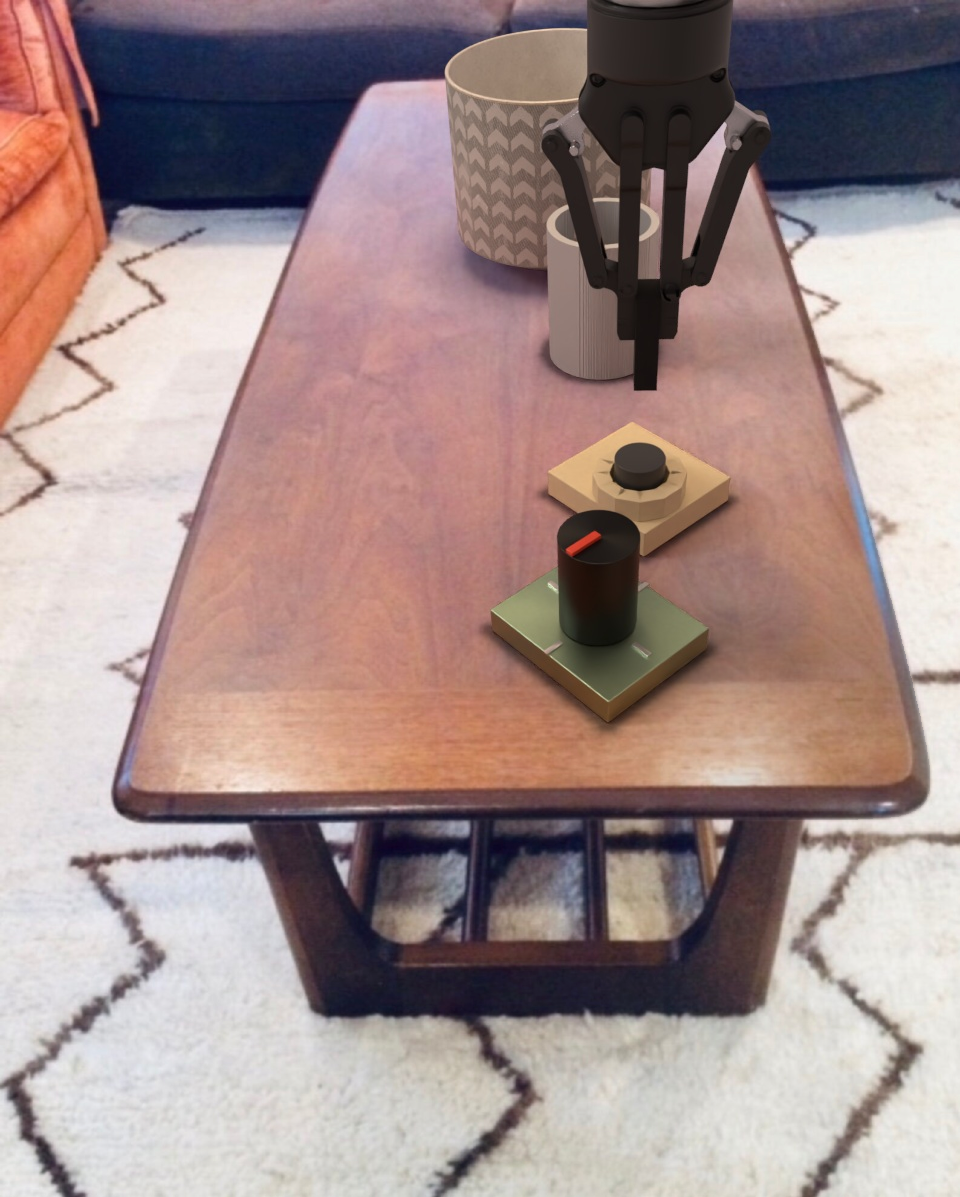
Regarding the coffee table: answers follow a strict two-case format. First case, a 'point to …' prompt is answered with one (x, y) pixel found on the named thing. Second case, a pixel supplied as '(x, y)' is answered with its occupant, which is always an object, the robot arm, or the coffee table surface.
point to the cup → (591, 295)
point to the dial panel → (607, 670)
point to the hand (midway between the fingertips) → (644, 379)
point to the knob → (598, 576)
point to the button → (639, 466)
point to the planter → (518, 140)
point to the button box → (653, 511)
